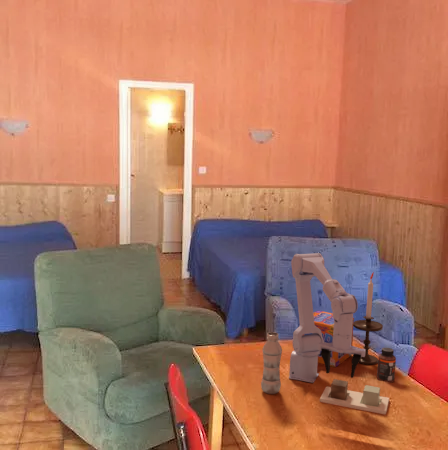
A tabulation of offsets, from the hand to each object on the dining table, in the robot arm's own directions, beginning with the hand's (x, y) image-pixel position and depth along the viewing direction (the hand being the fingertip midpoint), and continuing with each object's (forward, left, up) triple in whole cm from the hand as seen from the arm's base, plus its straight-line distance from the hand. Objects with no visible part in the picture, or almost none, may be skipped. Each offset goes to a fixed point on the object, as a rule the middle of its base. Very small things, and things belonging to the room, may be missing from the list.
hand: (340, 374), depth 176 cm
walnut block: (0, 0, -8) cm, 8 cm away
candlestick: (+3, +41, -10) cm, 42 cm away
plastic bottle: (-22, -2, -10) cm, 24 cm away
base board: (+5, 0, -9) cm, 11 cm away
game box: (-12, +38, -10) cm, 41 cm away
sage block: (+10, 0, -8) cm, 13 cm away
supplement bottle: (+12, +25, -10) cm, 29 cm away
